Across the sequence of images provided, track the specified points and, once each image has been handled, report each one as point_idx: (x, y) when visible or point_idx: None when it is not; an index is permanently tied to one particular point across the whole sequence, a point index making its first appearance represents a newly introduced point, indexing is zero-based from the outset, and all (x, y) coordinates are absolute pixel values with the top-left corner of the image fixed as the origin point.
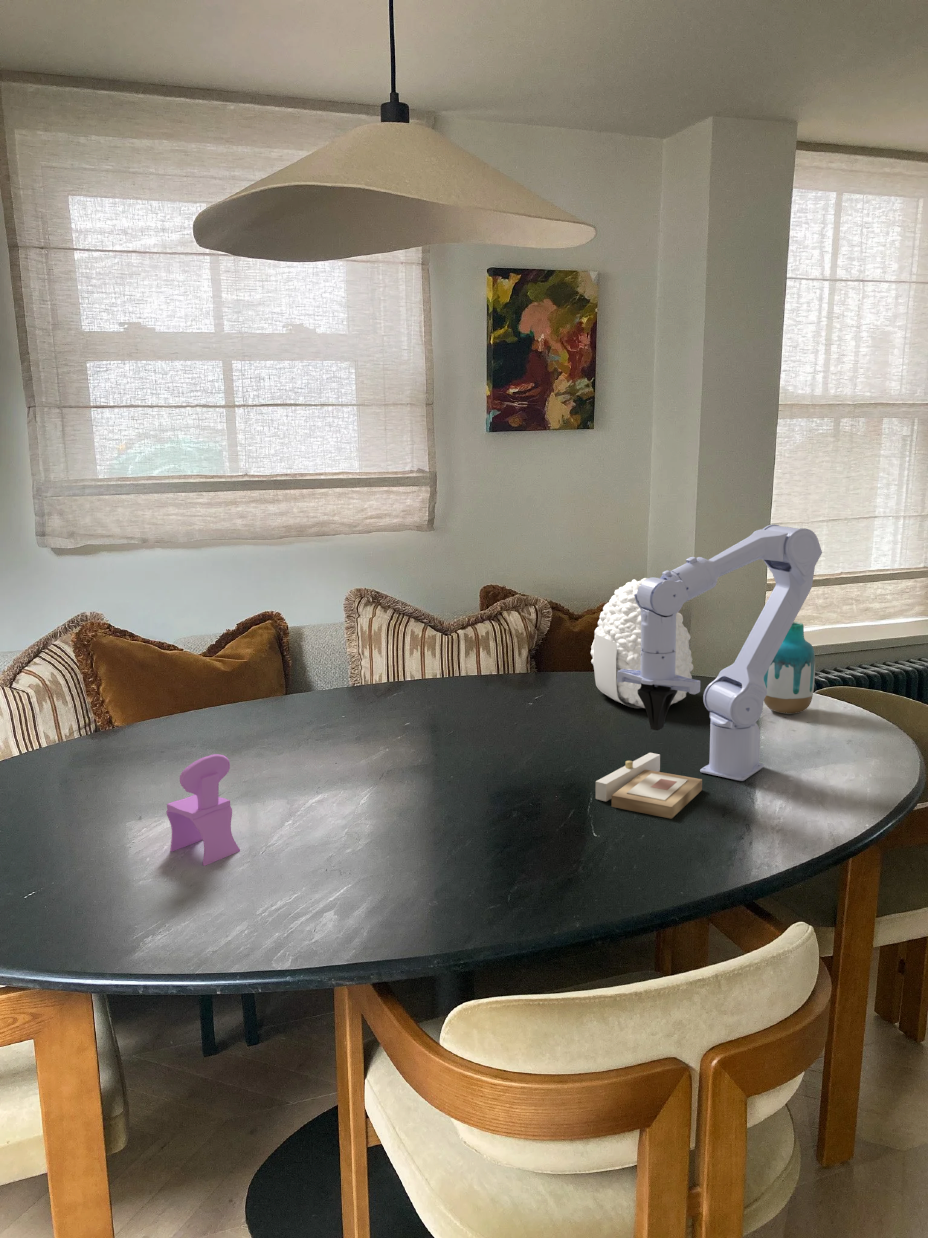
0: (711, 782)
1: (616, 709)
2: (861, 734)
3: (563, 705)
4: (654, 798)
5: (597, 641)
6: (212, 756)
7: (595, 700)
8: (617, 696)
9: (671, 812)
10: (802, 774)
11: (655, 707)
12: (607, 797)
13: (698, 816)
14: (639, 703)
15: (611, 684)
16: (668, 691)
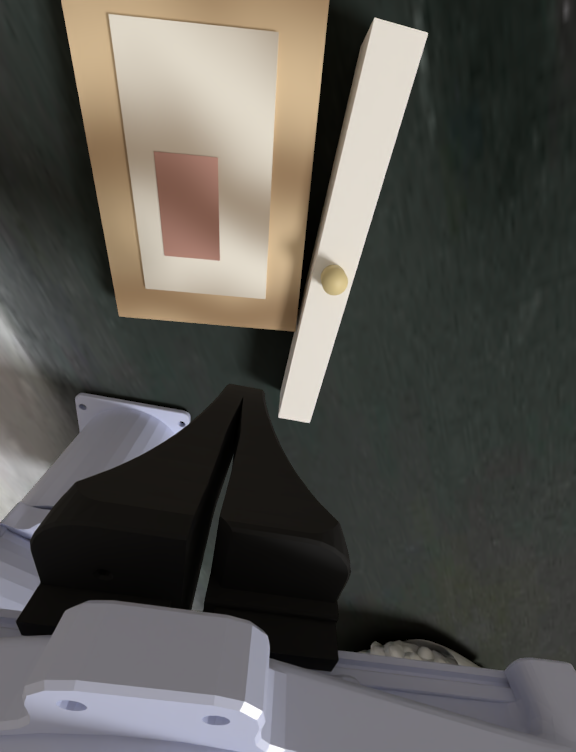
0: (139, 366)
1: (448, 630)
2: None
3: (552, 627)
4: (154, 17)
5: None
6: None
7: (491, 651)
8: (456, 660)
9: None
10: (12, 471)
11: (200, 447)
12: (359, 56)
13: (21, 58)
14: (409, 648)
15: None
16: (40, 578)
